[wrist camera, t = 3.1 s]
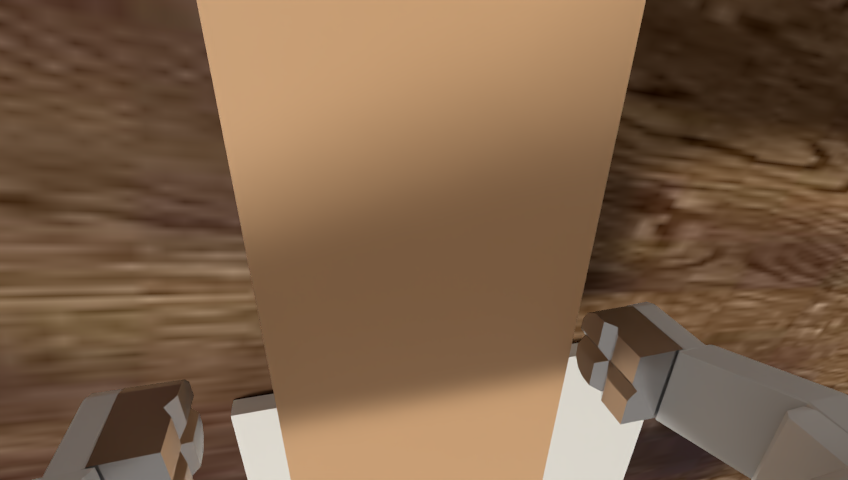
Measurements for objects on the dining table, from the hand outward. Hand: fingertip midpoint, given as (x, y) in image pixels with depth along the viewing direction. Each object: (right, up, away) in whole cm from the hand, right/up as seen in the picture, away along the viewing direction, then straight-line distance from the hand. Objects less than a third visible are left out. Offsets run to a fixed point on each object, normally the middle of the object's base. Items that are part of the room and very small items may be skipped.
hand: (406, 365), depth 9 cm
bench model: (-1, +4, +6) cm, 8 cm away
